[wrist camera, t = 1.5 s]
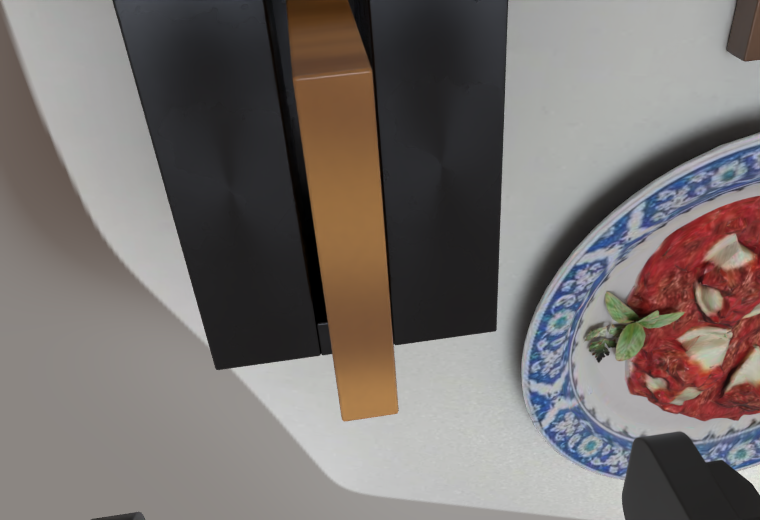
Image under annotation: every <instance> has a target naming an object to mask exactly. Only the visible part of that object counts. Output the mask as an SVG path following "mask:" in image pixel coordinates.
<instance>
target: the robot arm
mask: <svg viewBox="0 0 760 520" xmlns="http://www.w3.org/2000/svg"><path fill="white" fill-rule="evenodd" d="M622 505H623V511H624V516H625V520H760V495H759V493H758V492H757V490H756V489H755V488H754V486H753V485H752V484H751V483H750V482H749V481H748V480H747V479H745V478H744V477H743V476H742V475H740V474H739V473H738V472H737V471H735V470H734V469H733V468H732V467H731V466H729V465H728V464H727V463H726V462H724V461H723V460H717V461H711V462H705V461H704V459H703V457H702V456H701V454H700V453H699V451H698V449H697V448H696V446H695V445H694V443H693V442H692V440H691V439H690V438H689V437H688V435H686V434H685V433H684V432H681V431H677V432H671V433H664V434H658V435H651V436H645V437H638V438H636V439H635V440H634V441H633V444H632V448H631V453H630V458H629V463H628V468H627V473H626V477H625V482H624V487H623V492H622ZM92 520H145V518H144V516H143V514H142V513H141V512H135V513H129V514H123V515H116V516H109V517H102V518H96V519H92Z"/></svg>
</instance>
